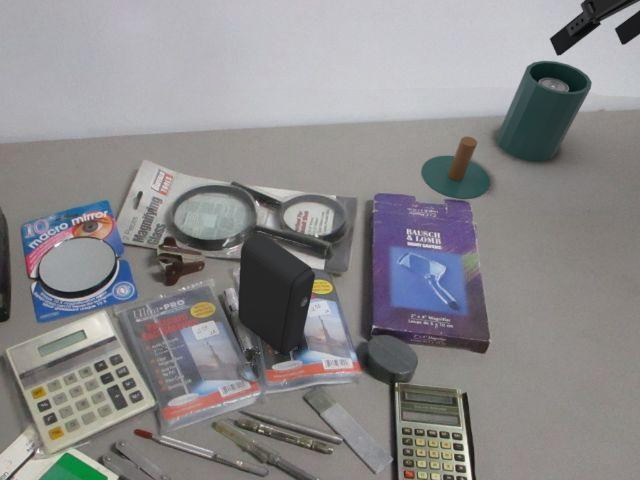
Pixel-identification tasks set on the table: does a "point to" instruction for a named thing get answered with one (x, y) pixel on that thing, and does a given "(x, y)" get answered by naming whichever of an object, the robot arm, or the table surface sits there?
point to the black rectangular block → (274, 292)
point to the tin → (542, 111)
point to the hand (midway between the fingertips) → (588, 41)
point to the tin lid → (457, 173)
